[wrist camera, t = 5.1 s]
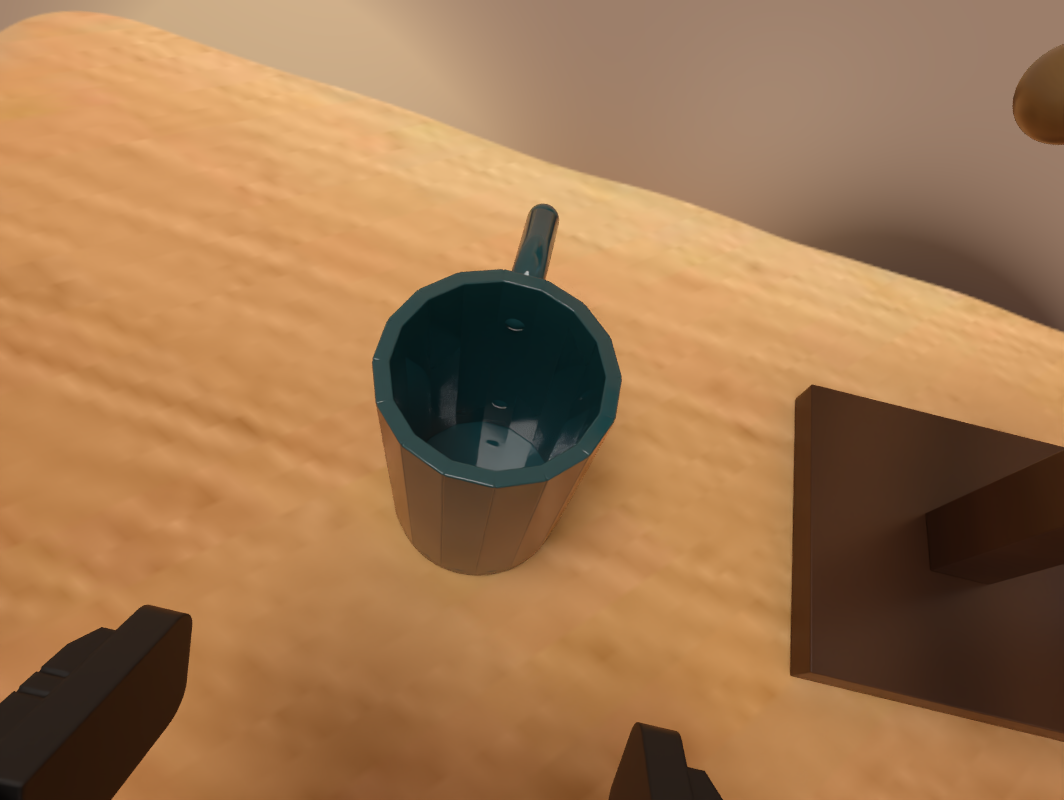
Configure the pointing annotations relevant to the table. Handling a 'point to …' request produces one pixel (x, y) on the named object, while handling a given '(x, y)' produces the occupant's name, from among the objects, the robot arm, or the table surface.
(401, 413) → the mug
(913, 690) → the mug stand
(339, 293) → the table surface
